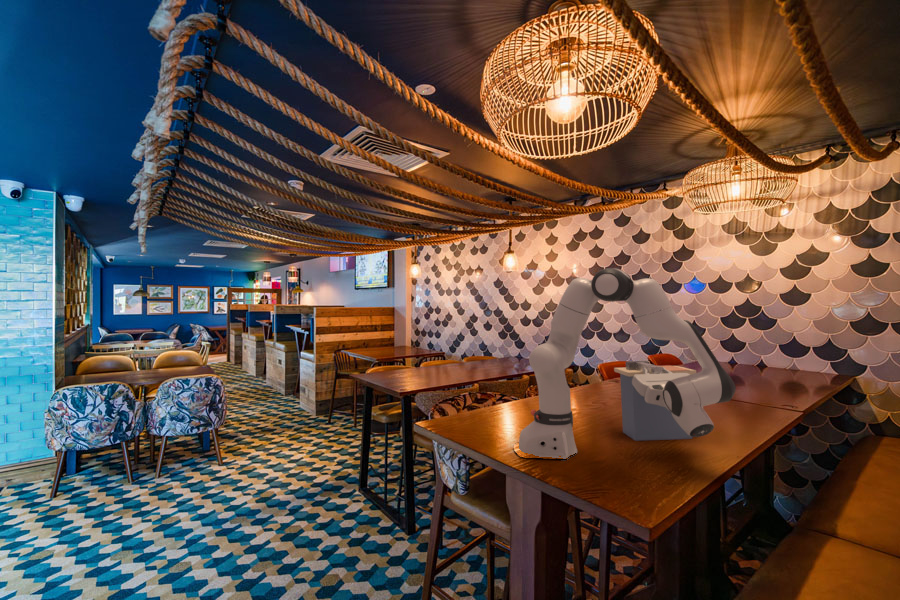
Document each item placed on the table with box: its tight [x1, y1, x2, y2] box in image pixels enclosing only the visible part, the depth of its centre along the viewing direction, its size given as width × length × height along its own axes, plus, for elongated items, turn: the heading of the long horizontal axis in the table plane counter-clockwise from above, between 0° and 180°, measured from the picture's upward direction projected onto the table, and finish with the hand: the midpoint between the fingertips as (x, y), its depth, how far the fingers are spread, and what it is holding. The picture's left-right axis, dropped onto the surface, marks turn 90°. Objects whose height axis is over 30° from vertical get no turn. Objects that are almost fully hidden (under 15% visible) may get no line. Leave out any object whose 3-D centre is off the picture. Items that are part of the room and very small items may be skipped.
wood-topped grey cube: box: [613, 365, 697, 442], centre depth 148 cm, size 26×12×26 cm, turn 90°
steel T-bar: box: [625, 360, 662, 374], centre depth 142 cm, size 8×16×3 cm, turn 0°
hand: (652, 368), depth 137 cm, fingers open, 5 cm apart
